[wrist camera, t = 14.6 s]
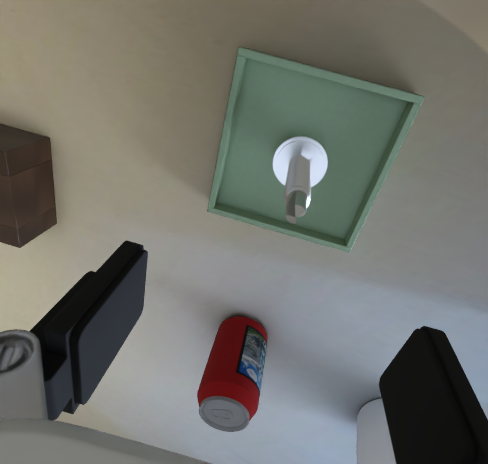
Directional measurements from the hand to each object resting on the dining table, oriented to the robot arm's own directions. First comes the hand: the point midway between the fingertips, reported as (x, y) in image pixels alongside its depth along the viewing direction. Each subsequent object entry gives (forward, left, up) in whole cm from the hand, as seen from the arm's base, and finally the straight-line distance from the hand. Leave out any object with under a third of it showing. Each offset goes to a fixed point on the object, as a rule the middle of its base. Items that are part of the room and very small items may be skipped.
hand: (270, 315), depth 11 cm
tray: (+1, +1, -23) cm, 23 cm away
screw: (+1, +1, -23) cm, 23 cm away
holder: (+12, -31, -23) cm, 40 cm away
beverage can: (+26, +1, -23) cm, 35 cm away
